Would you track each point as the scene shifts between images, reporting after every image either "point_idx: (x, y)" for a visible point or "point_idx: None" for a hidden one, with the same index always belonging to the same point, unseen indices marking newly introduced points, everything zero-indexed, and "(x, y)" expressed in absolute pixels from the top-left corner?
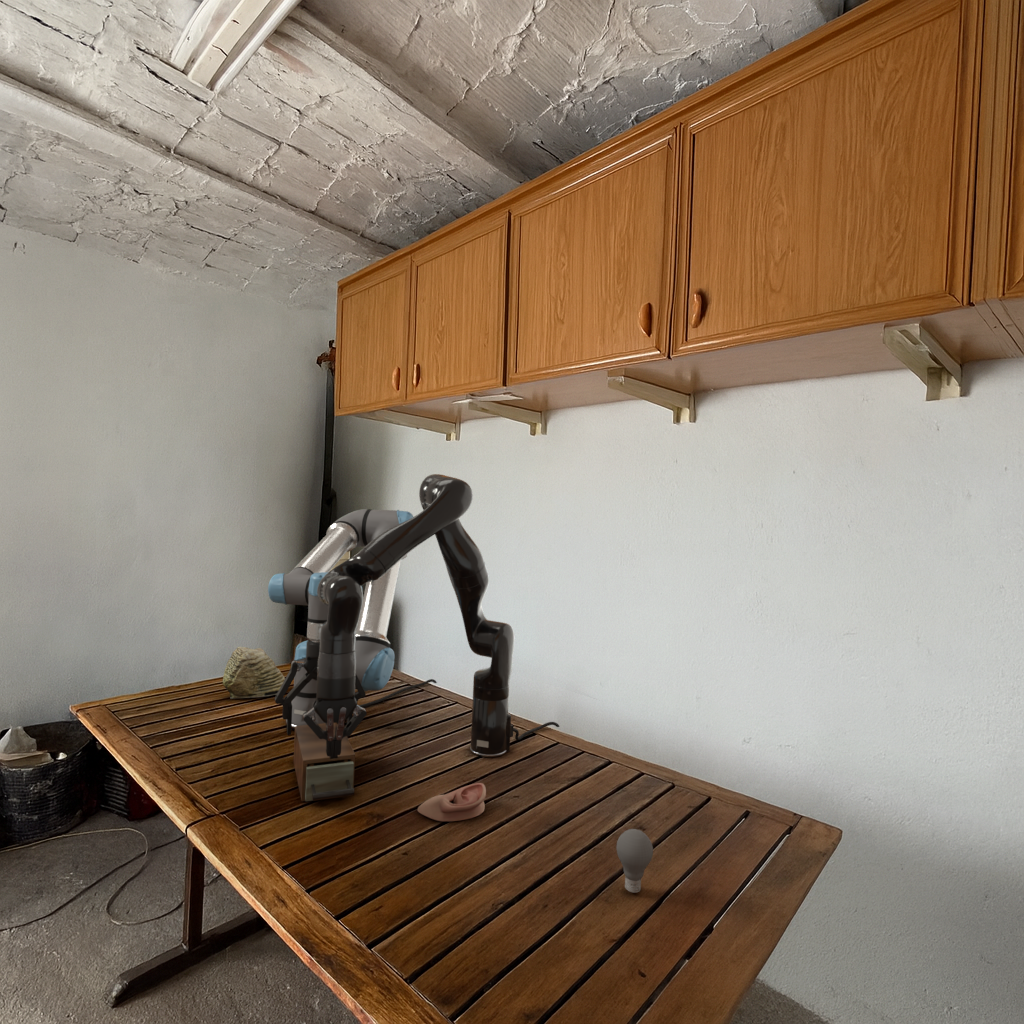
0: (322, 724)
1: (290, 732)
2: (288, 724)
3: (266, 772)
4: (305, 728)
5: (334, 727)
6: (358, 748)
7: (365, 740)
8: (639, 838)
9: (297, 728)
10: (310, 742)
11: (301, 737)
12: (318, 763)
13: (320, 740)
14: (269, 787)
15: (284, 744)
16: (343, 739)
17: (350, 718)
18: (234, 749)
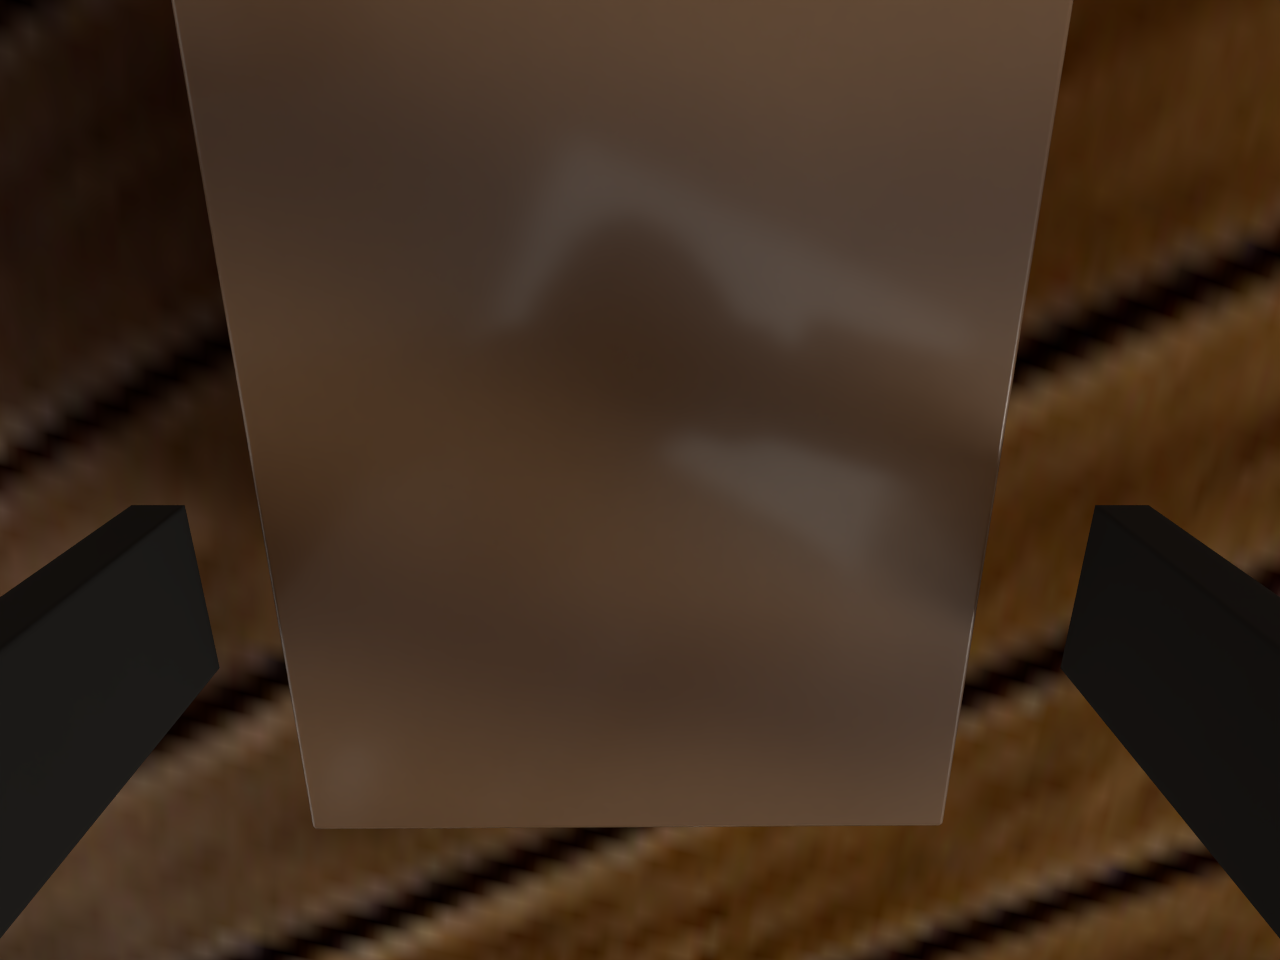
0: (572, 793)
1: (1122, 522)
2: (1252, 589)
3: (1089, 445)
4: (823, 714)
5: (408, 647)
6: (252, 710)
7: (190, 843)
8: None
9: (931, 738)
10: (863, 90)
11: (956, 375)
12: None
13: (680, 141)
14: (1144, 93)
15: (841, 920)
16: (269, 66)
17: (45, 594)
18: (1207, 923)
